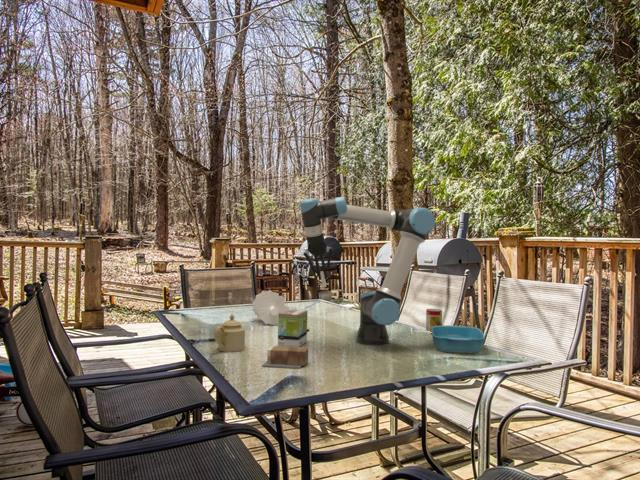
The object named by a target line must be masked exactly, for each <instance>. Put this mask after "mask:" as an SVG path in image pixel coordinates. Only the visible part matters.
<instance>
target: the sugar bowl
mask: <svg viewBox="0 0 640 480" xmlns="http://www.w3.org/2000/svg"><path fill="white" fill-rule="evenodd" d="M221 325H222V326H221ZM221 325H219V326H217V327H216V328H215V329H214V333H213V336H214V340H215V342H216V344H217V346H218V347H217V348H218V351H220V352H224V353H225V352H226V353H236V352H241V351H244V350H245V347H246V346H245V343H246V329H245V328H244V327H243V326H242V325H243V323H242V322H240V321H239V320H235V315H234V313H231V314H230V315H229V320H225V321H224V322H223V323H221Z"/></svg>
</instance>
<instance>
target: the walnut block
mask: <svg viewBox="0 0 640 480" xmlns="http://www.w3.org/2000/svg"><path fill="white" fill-rule="evenodd" d="M266 354H267V359H266V360H267V364H285V365H303V366H305V365H306V364H307V363H308V362H309V347H301V346H300V347H283V346H278V345H271V347H269V348H268V349H267V353H266ZM303 366H302V367H303Z"/></svg>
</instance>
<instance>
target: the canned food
mask: <svg viewBox="0 0 640 480" xmlns="http://www.w3.org/2000/svg"><path fill="white" fill-rule="evenodd" d="M425 312H426V313H425V314H426V316H425V318H426V319H425V320H426V321H425V331H426V330H427V331H430V332H431V328H432V327H433V326H443V310H442V309H441V308H426V311H425Z"/></svg>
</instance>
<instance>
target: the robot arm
mask: <svg viewBox="0 0 640 480" xmlns="http://www.w3.org/2000/svg"><path fill="white" fill-rule="evenodd" d="M299 207H300V214H301V217H302V222H303V228H304V234H305V236H306V237H305V238H306V242H307V248H306V249H307V250H305V251H304V252H303V256H304V257H305V258H306V260H307V262H308V265H309V266H310V268H311V270H312V273H313V274H314V273H315V274H317V277H318V280H319V281H321V284H322V288H326V287H327V281H326V280H327V279H328V274H327V271H330V269H331V268H330V267H331V254H332V252H333V247H332V246H328V245H327V244H326V241H325V236H324V233H323V232H324V230H323V224H322V221H321V220H324V219H329V220H330V219H331V220H337V221H344V222H352V223H357V224H358V223H359V224H362V225H370V226H376V227H383V228H387V229H388V230H390V231H395V232H399V235H400V239H399V242H398V245H397V247H396V249H395V251H394V252H395V253H394V255H393V256H392V259H391V262H390V264H389V267H388V269H387V272H386V274H385V277H384V279H383V282H382V285H381V287H379V288H376V290H375V291H366V292H364V291H363V292H362V293H361V294H360V298H359V301H360V303H359V306H360V307H359V311H360V312H359V314H360V316H359V318H360V319H359V322H360V323H359V327H358V330H357V333H356V336H355V338H356V339H355V342H357V344H358V343H359V344H361V345H371V346H372V345H374V346H378V345H379V346H380V345H387V344H388V343H390V337H389V333H388V330H387V326H390V325H392V324H395V322H396V321H398V319H399V317H400V315H401V308H400V305H401V302H402V296H401V292H402V290H403V287H404V285H405V282H406V280H407V278H408V275H409V272H410V269H411V267H412V264H413V261H414V259H415V257H416V254H417V252H418V250H419V246H420V245H421V244H422V243H425V242H426V239H427V236H428V234H430V233H431V232H433V230H434V229H435V227H436V218H435V216H434V213H433V212H432V211H431V210H430V209H429V208H426V207H419V206H418V207H415V208H409V209H401V210H400V209H391V210H384V209H377V208H371V207H364V206H357V205H353V204H352V205H351V204H347V202H346V199H345V198H344V197H343V196H339V197H334V198H330V199H329V198H328V199H326V200H322V201H318V199H317V198H316V197H310V198H305V199H302V200H301V201H300V202H299ZM325 252H327V257H326V258H327V260H326V262H325V258H324V257H325V256H324V254H325ZM310 254H311V255H312V256H313V258H314V262H315V263H314V262H313V261H312V260H313V259H312V258H311V256H310ZM318 256H319V257H320V262H321V266H320V263H319V257H318ZM320 267H321V268H322V271H321V268H320Z"/></svg>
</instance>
